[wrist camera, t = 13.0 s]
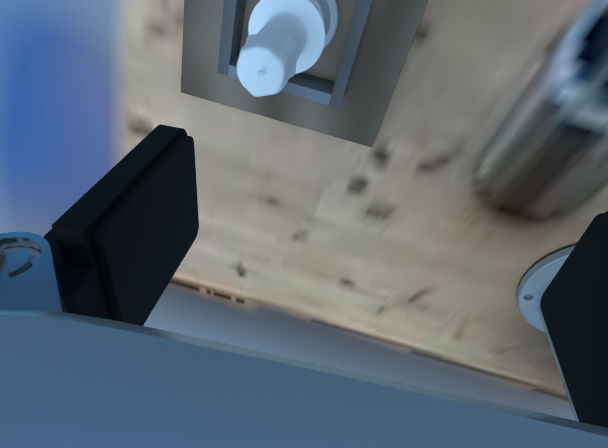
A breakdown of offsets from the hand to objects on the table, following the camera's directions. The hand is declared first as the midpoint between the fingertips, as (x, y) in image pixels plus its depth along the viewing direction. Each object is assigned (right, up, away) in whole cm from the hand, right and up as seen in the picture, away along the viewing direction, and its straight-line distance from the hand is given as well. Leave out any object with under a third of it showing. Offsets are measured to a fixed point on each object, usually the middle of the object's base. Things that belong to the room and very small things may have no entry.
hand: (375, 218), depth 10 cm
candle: (-2, +14, +19) cm, 24 cm away
